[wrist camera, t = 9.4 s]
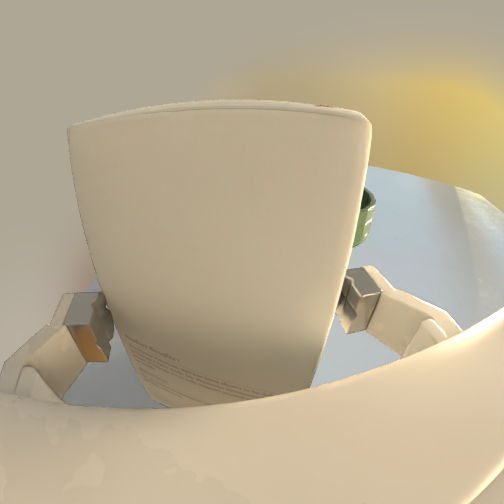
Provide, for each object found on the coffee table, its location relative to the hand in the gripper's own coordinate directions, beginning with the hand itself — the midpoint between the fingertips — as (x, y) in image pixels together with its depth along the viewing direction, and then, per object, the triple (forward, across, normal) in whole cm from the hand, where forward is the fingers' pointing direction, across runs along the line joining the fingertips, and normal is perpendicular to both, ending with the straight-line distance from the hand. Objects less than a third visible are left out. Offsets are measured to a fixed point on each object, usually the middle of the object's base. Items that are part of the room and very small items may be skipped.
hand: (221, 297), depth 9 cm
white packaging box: (+1, -1, +7) cm, 7 cm away
